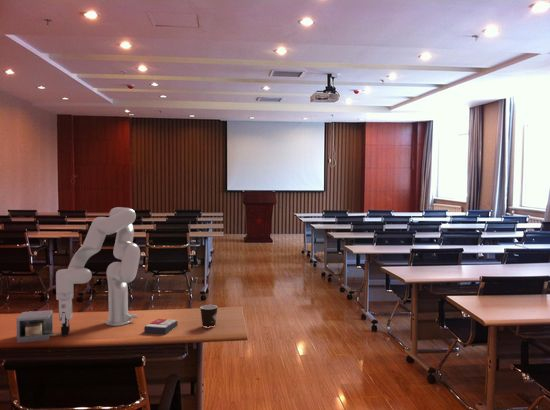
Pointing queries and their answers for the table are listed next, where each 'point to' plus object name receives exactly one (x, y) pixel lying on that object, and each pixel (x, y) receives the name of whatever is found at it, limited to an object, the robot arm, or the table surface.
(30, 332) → the corded block
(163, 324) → the flat cardboard box
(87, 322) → the table surface
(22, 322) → the block
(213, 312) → the coffee mug
